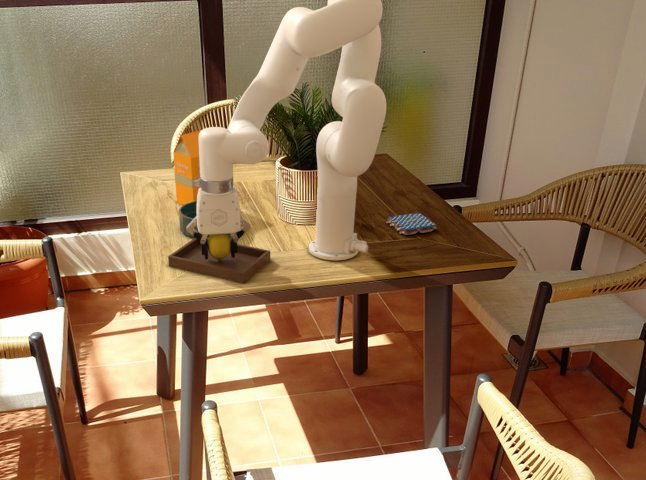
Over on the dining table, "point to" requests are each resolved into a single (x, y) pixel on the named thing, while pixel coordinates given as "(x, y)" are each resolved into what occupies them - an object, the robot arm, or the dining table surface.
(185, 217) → the bowl
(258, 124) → the robot arm
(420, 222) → the woven mat
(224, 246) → the lemon
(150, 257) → the dining table surface
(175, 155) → the orange juice
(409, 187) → the dining table surface
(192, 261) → the tray
